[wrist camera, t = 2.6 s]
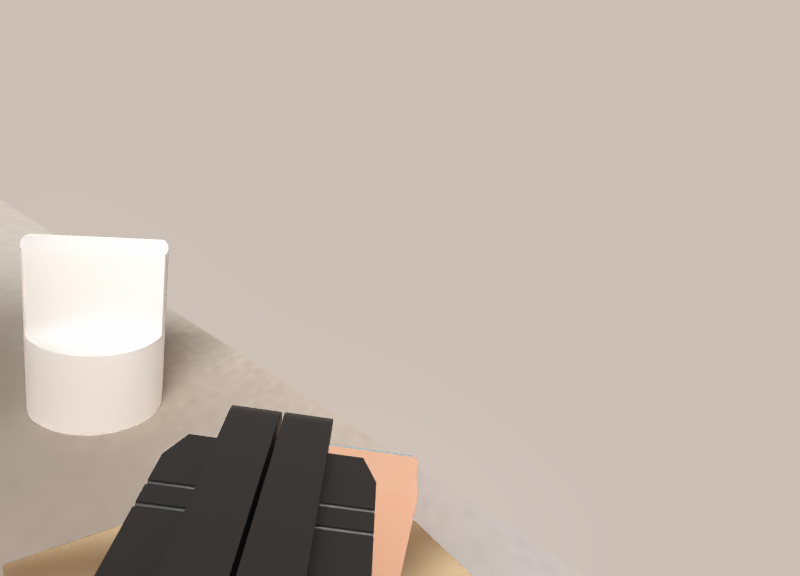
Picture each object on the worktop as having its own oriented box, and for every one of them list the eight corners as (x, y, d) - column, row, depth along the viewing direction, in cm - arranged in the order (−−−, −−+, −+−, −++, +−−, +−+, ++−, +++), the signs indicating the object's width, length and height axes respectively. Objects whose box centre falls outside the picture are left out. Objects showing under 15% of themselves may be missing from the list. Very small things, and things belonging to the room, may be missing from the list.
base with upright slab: (160, 367, 54) (166, 226, 50) (164, 431, 46) (171, 272, 42) (34, 369, 51) (29, 219, 46) (16, 439, 43) (8, 267, 39)
